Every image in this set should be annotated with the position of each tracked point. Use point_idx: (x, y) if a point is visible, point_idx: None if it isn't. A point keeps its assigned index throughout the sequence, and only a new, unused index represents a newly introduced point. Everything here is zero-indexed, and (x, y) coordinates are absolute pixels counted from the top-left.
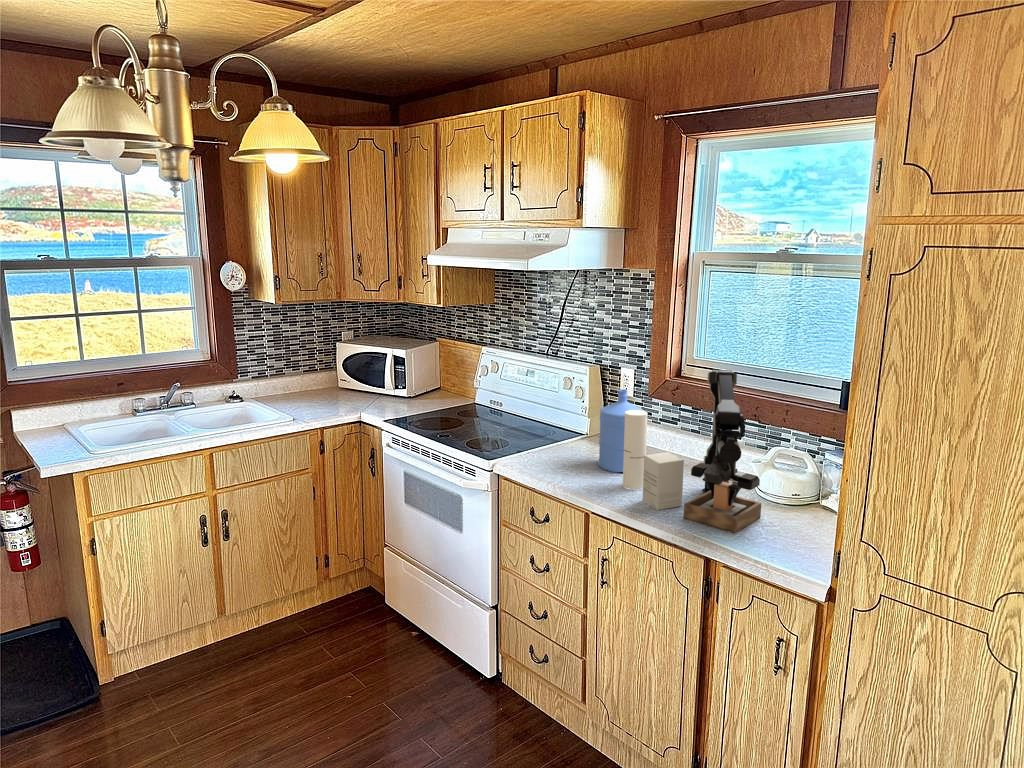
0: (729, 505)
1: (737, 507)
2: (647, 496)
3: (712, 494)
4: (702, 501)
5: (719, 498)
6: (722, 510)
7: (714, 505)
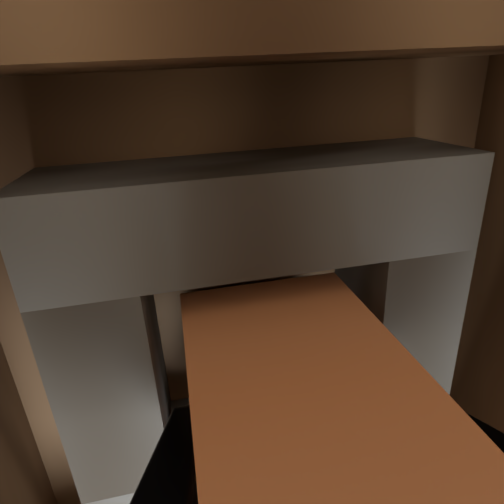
0: (176, 411)
1: (136, 470)
2: None
3: (483, 425)
4: (498, 350)
5: (330, 398)
6: (201, 273)
7: (347, 307)
